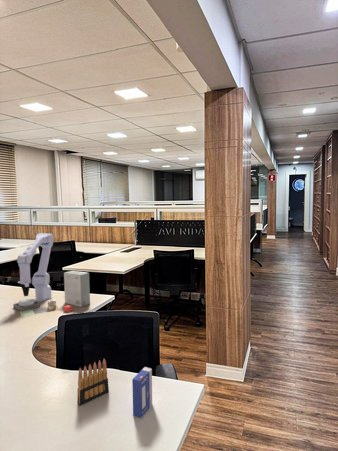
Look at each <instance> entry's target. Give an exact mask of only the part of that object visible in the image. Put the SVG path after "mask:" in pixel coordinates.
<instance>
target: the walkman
mask: <svg viewBox="0 0 338 451" xmlns="http://www.w3.org/2000/svg"><path fill="white" fill-rule="evenodd" d="M131 383H132V384H131V386H132V416H133V417H136V418H140V419H141V418H142V417H143V416H144V415H145V414H146V412H147V411H148V410H149V408H151V406H152V405H153V369H152V368H151V367H147V366H144V367H143V368H142V369H141V370H140V371H138V373H137V374H136V375H135V376H134V377H132V382H131Z"/></svg>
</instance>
